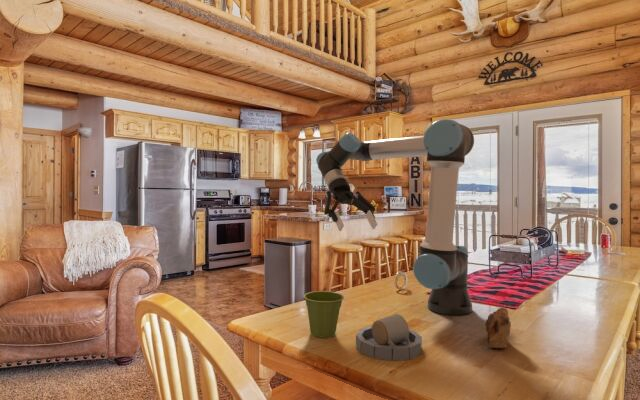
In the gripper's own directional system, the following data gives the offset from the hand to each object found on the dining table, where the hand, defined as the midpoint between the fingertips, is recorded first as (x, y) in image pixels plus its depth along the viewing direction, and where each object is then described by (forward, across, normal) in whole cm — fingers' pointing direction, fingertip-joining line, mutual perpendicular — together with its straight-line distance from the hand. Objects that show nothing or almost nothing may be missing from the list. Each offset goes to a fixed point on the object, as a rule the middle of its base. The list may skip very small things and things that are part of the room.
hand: (358, 227), depth 138 cm
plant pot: (+30, +21, -11) cm, 38 cm away
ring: (+8, -33, -34) cm, 48 cm away
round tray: (+42, +9, 0) cm, 43 cm away
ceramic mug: (+42, +9, +2) cm, 43 cm away
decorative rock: (+51, -18, +9) cm, 55 cm away
